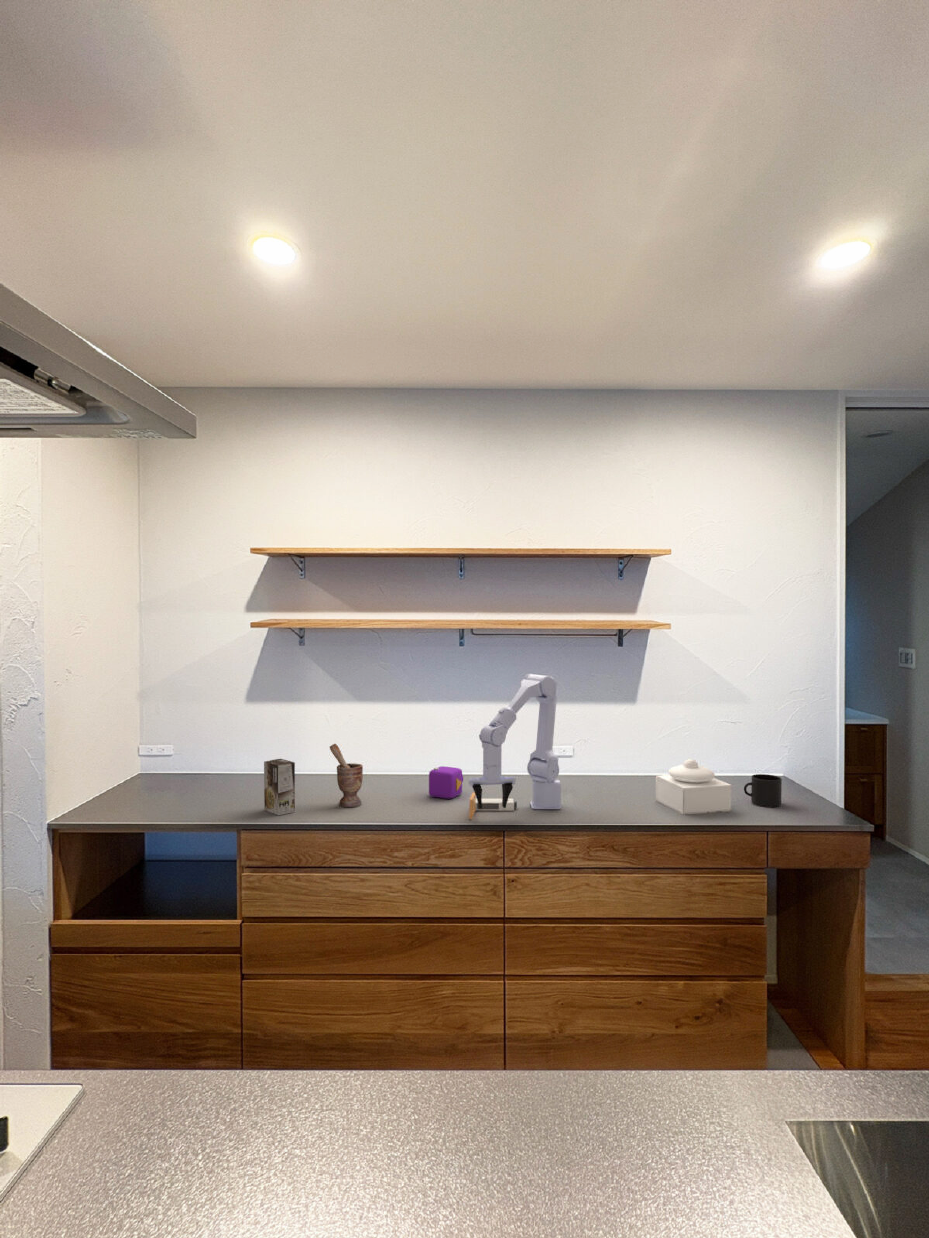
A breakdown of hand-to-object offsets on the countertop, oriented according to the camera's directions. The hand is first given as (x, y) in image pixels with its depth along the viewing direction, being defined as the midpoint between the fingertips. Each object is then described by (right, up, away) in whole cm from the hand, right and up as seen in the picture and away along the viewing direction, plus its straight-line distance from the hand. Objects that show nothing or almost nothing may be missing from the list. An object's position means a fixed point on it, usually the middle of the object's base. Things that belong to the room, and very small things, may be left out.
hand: (492, 807), depth 229 cm
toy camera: (-15, -3, +29) cm, 33 cm away
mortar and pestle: (-49, -3, +16) cm, 51 cm away
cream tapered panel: (+1, -3, +12) cm, 12 cm away
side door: (-6, -3, +4) cm, 8 cm away
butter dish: (+68, -4, +17) cm, 70 cm away
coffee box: (-68, -3, +8) cm, 69 cm away
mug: (+92, -4, +19) cm, 95 cm away
